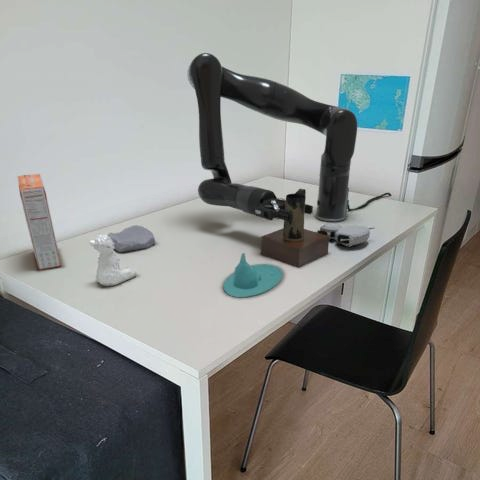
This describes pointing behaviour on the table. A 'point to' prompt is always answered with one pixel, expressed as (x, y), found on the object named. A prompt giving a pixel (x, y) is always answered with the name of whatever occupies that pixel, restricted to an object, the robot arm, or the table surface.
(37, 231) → the cracker box
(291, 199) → the mug
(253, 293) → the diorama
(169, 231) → the table surface
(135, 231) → the stone block
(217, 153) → the robot arm
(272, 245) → the walnut block
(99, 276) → the sitting furry creature
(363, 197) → the table surface
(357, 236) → the robot toy
